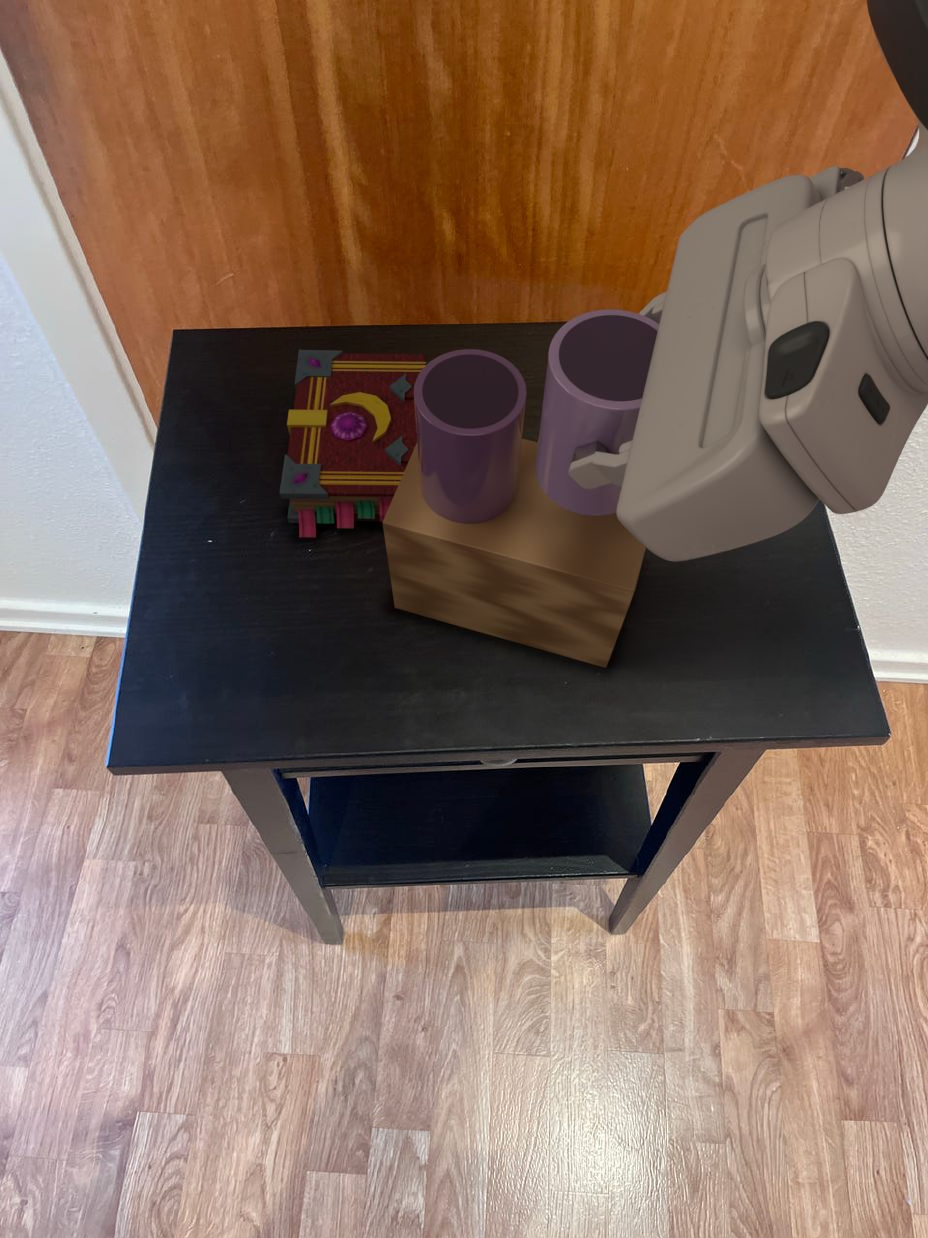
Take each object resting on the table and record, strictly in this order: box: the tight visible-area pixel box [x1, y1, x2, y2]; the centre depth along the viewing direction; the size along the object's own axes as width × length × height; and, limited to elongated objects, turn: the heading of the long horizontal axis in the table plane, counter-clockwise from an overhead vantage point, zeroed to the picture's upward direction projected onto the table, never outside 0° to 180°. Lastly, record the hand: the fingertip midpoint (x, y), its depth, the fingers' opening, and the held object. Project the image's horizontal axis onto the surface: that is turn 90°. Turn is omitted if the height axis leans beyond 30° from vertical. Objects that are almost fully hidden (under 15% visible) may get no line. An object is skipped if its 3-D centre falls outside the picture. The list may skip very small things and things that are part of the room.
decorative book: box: [279, 349, 428, 538], centre depth 72 cm, size 11×16×5 cm
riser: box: [382, 438, 647, 669], centre depth 63 cm, size 17×10×12 cm, turn 72°
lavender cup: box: [535, 308, 659, 516], centre depth 46 cm, size 7×7×9 cm
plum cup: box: [414, 348, 528, 524], centre depth 54 cm, size 7×7×9 cm
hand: (593, 413), depth 46 cm, fingers closed on lavender cup, 6 cm apart
